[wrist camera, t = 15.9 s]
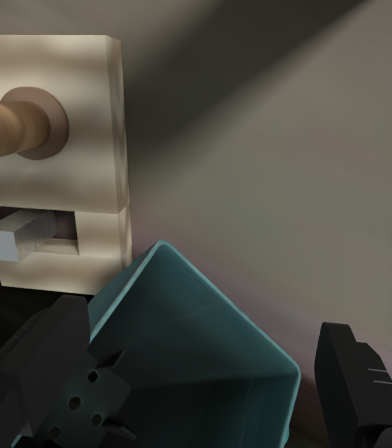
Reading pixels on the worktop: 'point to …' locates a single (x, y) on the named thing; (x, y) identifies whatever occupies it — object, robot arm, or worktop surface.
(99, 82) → the notched board
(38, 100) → the bobbin
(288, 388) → the flower pot
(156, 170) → the worktop surface
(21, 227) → the tab peg
